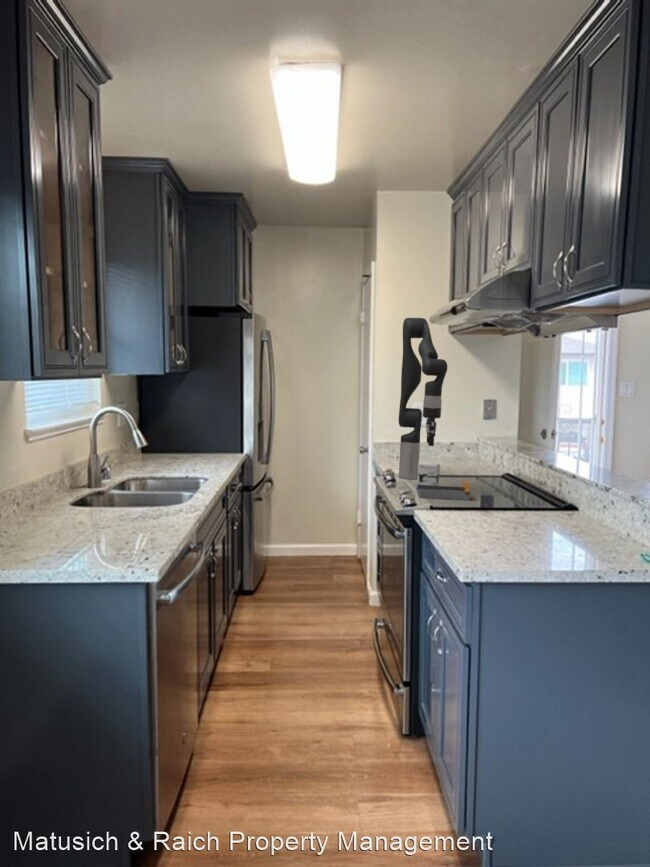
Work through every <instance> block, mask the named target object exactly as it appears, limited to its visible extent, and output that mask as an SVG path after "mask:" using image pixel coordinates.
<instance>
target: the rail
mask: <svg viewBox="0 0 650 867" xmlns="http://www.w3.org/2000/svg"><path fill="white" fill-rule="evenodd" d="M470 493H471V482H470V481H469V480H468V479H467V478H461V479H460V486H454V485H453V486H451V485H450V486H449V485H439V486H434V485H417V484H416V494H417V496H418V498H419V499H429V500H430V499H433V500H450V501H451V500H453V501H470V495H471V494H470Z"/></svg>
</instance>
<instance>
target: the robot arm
mask: <svg viewBox="0 0 650 867" xmlns="http://www.w3.org/2000/svg"><path fill="white" fill-rule="evenodd" d="M412 339H421V341H420V343H419V345H418V348H417V350H418V355H419V356H420V359H421V362H420V361H419V359H418V357H417V355H416V354H415V352H414V349H413V346H412ZM448 367H449V366H448V362H447V361H446V360H445V359H442V358H439V356H438V352H437V350H436V348H435V345H434V343H433V339H432V335H431V330H430V324H429V322H428V321H427V319H426V318H422V317H406V318H405V319H404V320H403V324H402V363H401V376H400V377H401V378H400V380H401V381H400V402H399V410H398V425H399V427H401V428H411V429H413V430H411V431H410V432H409V433H405V434H402V435H400V441H399V442H400V444H399V446H400V448H399V461H398V462H399V466H398V477H399V478H401V479H405V480H406V479H407V480H414V479H417V475H418V464H419V463H420V450H421V449H420V448H421V431H422V429H421V428H422V421H423V418H425V419H426V422H425V427H426V428H425V431H426V432H425V433H426V443H427V445H428V447H433V446H435V437H436V431H437V421H436V420H435V419H440V418H441V416H442V415H441V414H442V405H443V404H442V403H443V402H442V393H443V384H444V380H445V377H446V375H447V372H448ZM422 373H423V375H425V376H427V377H428V376H431V377H432V376H433V377H435V379H434V380H431V381H427V382H426V383H425V385H424V396H423V397H424V398H423V404H422V405H423V406H422V409H421V408H417V407H415V408H413V407H411V408H410V407H407V405H408V403H409V400H410V398H411V396H413V394H414V392H415V391H416V390H417V388H418V387H419V386H420V384H421V381H422ZM422 417H423V418H422Z"/></svg>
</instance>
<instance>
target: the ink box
mask: <svg viewBox="0 0 650 867" xmlns="http://www.w3.org/2000/svg"><path fill="white" fill-rule="evenodd" d="M440 470H441V464H439V463H434V462H425V461H422V462H419V464H418V475H417V478H416V479H417V480H416V481H417V482H416V486H417V485H434V486H440V474H441V472H440Z"/></svg>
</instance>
